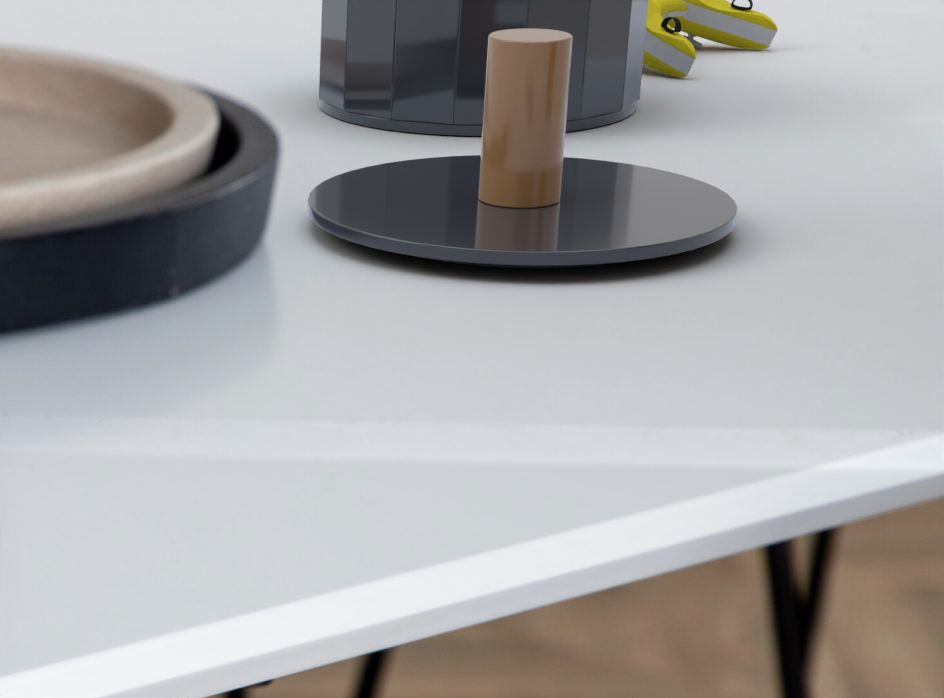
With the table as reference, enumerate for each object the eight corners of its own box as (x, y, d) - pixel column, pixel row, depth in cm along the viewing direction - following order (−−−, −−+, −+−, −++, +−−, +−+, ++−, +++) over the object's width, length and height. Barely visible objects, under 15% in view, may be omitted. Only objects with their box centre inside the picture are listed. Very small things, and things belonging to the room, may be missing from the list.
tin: (615, 75, 113) (631, -104, 109) (656, 136, 99) (675, -66, 96) (318, 76, 114) (323, -100, 111) (318, 136, 101) (325, -62, 98)
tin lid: (699, 182, 91) (718, 0, 88) (770, 285, 77) (795, 73, 74) (307, 181, 93) (313, 3, 90) (306, 281, 79) (313, 74, 76)
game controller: (654, 18, 122) (683, -42, 119) (755, 74, 119) (787, 13, 117) (566, 45, 115) (595, -19, 113) (671, 105, 112) (703, 41, 110)
